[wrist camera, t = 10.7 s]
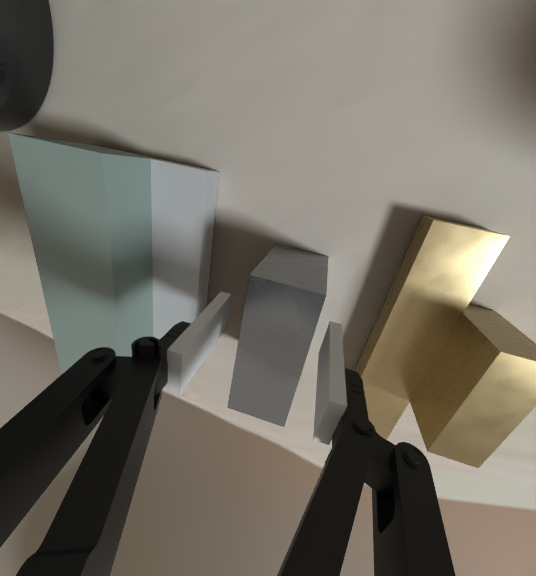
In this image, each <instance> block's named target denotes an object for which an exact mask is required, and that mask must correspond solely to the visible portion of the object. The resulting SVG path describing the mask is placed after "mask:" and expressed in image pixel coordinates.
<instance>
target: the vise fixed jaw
mask: <svg viewBox="0 0 536 576" xmlns="http://www.w3.org/2000/svg"><path fill="white" fill-rule="evenodd" d="M8 136H9V141H10V145H11V150H12V154H13V159H14V163H15V168H16V172H17V177H18V181H19V186H20V190H21V195H22V199H23V204H24V208H25V212H26V217H27V221H28V226H29V230H30V235H31V239H32V244H33V248H34V253H35V257H36V262H37V266H38V271H39V275H40V280H41V284H42V288H43V293H44V297H45V302H46V306H47V311H48V315H49V320H50V324H51V329H52V333H53V338H54V342H55V346H56V351H57V356H58V360H59V364H60V369H61V373H62V374H63V373H64V372H65V371H66V370H68V369H69V368H70V367H71V366H72V365H73V364H74V363H76V362H77V361H78V360H79V359H80V358H81V357H82V356H84V355H85V354H86V353H87V352H89V351H90V350H93V349H96V348H100V347H109V348H111V349H113V350H114V351H115V353H116V356H127V357H130V356H132V349H131V344H132V343H133V342H134V341H135V340H137V339H138V338H141V337H147V336H151V337H156V338H157V339H159V340H160V339H161V338H162V337H163V336H164V335H165V334H166V333H167V332H168V331H169V330H170V329H171V328H172V327H173V326H174V325H175V324H177V323H179V322H182V321H184V322H188V323H192V322H193V321H194V320H195V319H196V318H197V317H198V316H199V315H200V314H201V313H202V311H203V310H204V309H205V308H206V307H207V297H208V286H209V276H210V265H211V254H212V243H213V232H214V222H215V211H216V200H217V189H218V178H219V172H218V171H214V170H209V169H204V168H200V167H195V166H190V165H186V164H181V163H176V162H172V161H167V160H162V159H158V158H153V157H148V156H144V155H139V154H134V153H130V152H125V151H121V150H116V149H111V148H107V147H102V146H97V145H90V144H83V143H76V142H69V141H62V140H55V139H48V138H41V137H34V136H27V135H20V134H13V133H8Z"/></svg>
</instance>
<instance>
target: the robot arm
mask: <svg viewBox="0 0 536 576" xmlns="http://www.w3.org/2000/svg"><path fill="white" fill-rule="evenodd" d="M52 65H53V30H52V21H51V13H50V7H49V2H48V0H0V131H10V130H14V129H17V128H19V127H21V126H23V125H25V124H26V123H27V122H29V121H30V120H31V119H32V118H33V117H34V116H35V114H36V113H37V112H38V110H39V109H40V107H41V105H42V103H43V101H44V99H45V96H46V94H47V91H48V87H49V83H50V79H51V73H52ZM230 301H231V294H229V293H225V292H222V291H221V292H220V293H219V294H218V295H217V296H216V297H215V299H214V300H213V301H212V302H211V303H210V304H209V305H208V306H207V307H206V308H205V309H204V310H203V311H202V313H201V314H200V315H199V316H198V317H197V318H196V319H195V320H194V321H193V322H192V323H188V322H184V321H182V322H179V323H177V324H175V325H174V326H173V327H172V328H171V329H170V330H169V331H168V332H167V333H166V334H165V335H164V336H163V337H162V338H161V339H160V340H159V339H157V338H156V337H151V336H147V337H141V338H138V339H137V340H135V341H134V342H133V343H132V344H131V349H132V356H130V357H127V356H116V353H115V351H114V350H113V349H111V348H109V347H100V348H96V349H93V350H90V351H89V352H87V353H86V354H85V355H84V356H82V357H81V358H80V359H79V360H78V361H77V362H76V363H74V364H73V365H72V366H71V367H70V368H69V369H68V370H66V371H65V372H64V373H63V374H62V375H61V376H60V377H59V378H57V379H56V380H55V381H54V382H53V383H52V384H51V385H49V386H48V387H47V388H46V389H45V390H44V391H43V392H41V393H40V394H39V395H38V396H37V397H36V398H35V399H33V400H32V401H31V402H30V403H29V404H28V405H27V406H25V407H24V408H23V409H22V410H21V411H20V412H19V413H17V414H16V415H15V416H14V417H13V418H12V419H11V420H9V422H7V423H6V424H5V425H4V426H3V427H2V428H0V547H1V546H2V545H3V543H4V542H5V541H6V540H7V538H8V537H9V536H10V534H11V533H12V532H13V531H14V529H15V528H16V527H17V526H18V524H19V523H20V522H21V520H22V519H23V518H24V517H25V515H26V514H27V513H28V512H29V510H30V509H31V508H32V506H33V505H34V504H35V503H36V501H37V500H38V499H39V498H40V496H41V495H42V494H43V492H44V491H45V490H46V489H47V487H48V486H49V485H50V483H51V482H52V481H53V480H54V478H55V477H56V476H57V475H58V473H59V472H60V471H61V469H62V468H63V467H64V466H65V464H66V463H67V462H68V460H69V459H70V458H71V457H72V455H73V454H74V453H75V452H76V450H77V449H78V448H79V447H80V445H81V444H82V443H83V441H84V440H85V439H86V438H87V436H88V435H89V434H90V433H91V431H92V430H93V429H94V427H95V426H96V425H97V424H98V422H99V421H100V420H101V418H102V417H103V416H104V417H103V419H102V421H101V423H100V425H99V427H98V429H97V431H96V433H95V435H94V437H93V439H92V442H91V444H90V446H89V448H88V450H87V452H86V454H85V456H84V458H83V460H82V462H81V464H80V466H79V469H78V470H77V472H76V474H75V477H74V479H73V481H72V483H71V485H70V487H69V489H68V491H67V493H66V495H65V497H64V499H63V501H62V503H61V505H60V508H59V509H58V512H57V514H56V516H55V518H54V520H53V522H52V524H51V526H50V528H49V530H48V532H47V534H46V536H45V538H44V540H43V542H42V544H41V546H40V547H39V549H38V550H37V551H36V553H34V554H33V555H32V556H30V557H29V558H28V559H27V560H26V561H25V563H24V564H23V565H22V566H21V568H20V570H19V571H18V573H17V575H16V576H110V573H111V570H112V566H113V562H114V559H115V556H116V552H117V549H118V545H119V541H120V538H121V534H122V531H123V528H124V524H125V521H126V517H127V514H128V510H129V507H130V504H131V500H132V497H133V493H134V490H135V486H136V483H137V479H138V476H139V472H140V469H141V466H142V462H143V459H144V455H145V452H146V448H147V444H148V441H149V438H150V434H151V431H152V427H153V424H154V420H155V416H156V414H157V410H158V407H159V403H160V399H161V395H162V389H163V388H164V386H165V385H166V384H167V391H169V392H172V393H175V394H178V395H181V394H182V392H183V391H184V389H185V388H186V386H187V385H188V383H189V382H190V380H191V379H192V377H193V376H194V374H195V373H196V372H197V370H198V369H199V367H200V366H201V364H202V363H203V361H204V360H205V358H206V357H207V355H208V354H209V352H210V351H211V349H212V348H213V346H214V345H215V343H216V342H217V340H218V339H219V337H220V336H221V335H222V333H223V332H224V330H225V329H226V327H227V323H228V316H229V308H230ZM313 440H316V441H319V442H322V443H324V444H327V445H329V444H330V442H331V440H332V449H331V451H330V453H329V455H328V457H327V459H326V462H325V465H324V467H323V470H322V472H321V474H320V477H319V479H318V481H317V484H316V486H315V488H314V491H313V493H312V496H311V498H310V500H309V503H308V505H307V507H306V510H305V512H304V514H303V516H302V519H301V521H300V524H299V526H298V528H297V531H296V533H295V535H294V538H293V540H292V542H291V545H290V547H289V549H288V552H287V554H286V556H285V559H284V561H283V563H282V566H281V568H280V570H279V573H278V575H277V576H339V575H340V571H341V567H342V564H343V560H344V556H345V553H346V548H347V545H348V541H349V537H350V534H351V530H352V526H353V522H354V518H355V515H356V511H357V507H358V503H359V500H360V496H361V492H362V488H363V484H364V483H366V484H367V485H368V486H370V487H371V488H372V506H373V507H372V508H373V541H374V576H455V572H454V568H453V564H452V560H451V555H450V551H449V547H448V542H447V538H446V534H445V529H444V525H443V521H442V517H441V513H440V508H439V504H438V499H437V495H436V491H435V486H434V482H433V478H432V474H431V469H430V465H429V463H428V460H427V459H426V457H425V456H424V454H423V453H422V452H421V451H420V450H419V449H418V448H416V447H415V446H413V445H411V444H410V443H406V442H400V443H398V444H397V445H394V444H392V443H391V442H389V441H387V440H386V439H384V438H383V437H381V436H380V435H379V434H378V433H377V432H376V430H375V427H374V425H373V424H372V423H371V421H370V420H369V418H368V411H367V405H366V398H365V392H364V386H363V380H362V378H361V376H360V375H359V373H358V372H356V371H352V370H349V369H346V368H344V354H343V340H342V326H341V324H338V323H334V322H331V321H330V323H329V325H328V328H327V331H326V334H325V337H324V340H323V343H322V345H321V348H320V351H319V359H318V374H317V390H316V405H315V421H314V436H313Z"/></svg>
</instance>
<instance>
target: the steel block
mask: <svg viewBox="0 0 536 576" xmlns="http://www.w3.org/2000/svg"><path fill="white" fill-rule="evenodd" d="M327 271H328V257H327V256H323V255H319V254H315V253H311V252H307V251H303V250H299V249H295V248H291V247H287V246H283V245H278V244H276V245H275V246H274V247H273V248H272V249H271V251H270V252H269V253H268V254H267V255H266V256H265V257H264V259H263V260H262V261H261V262H260V263H259V264H258V266H257V267H256V268H255V269H254V270H253V271H252V272H251V274H250V275H249V281H248V287H247V293H246V299H245V305H244V311H243V317H242V323H241V329H240V335H239V341H238V347H237V353H236V360H235V366H234V372H233V378H232V384H231V390H230V396H229V402H228V408H230V409H233V410H236V411H239V412H242V413H245V414H248V415H251V416H253V417H256V418H259V419H262V420H265V421H268V422H271V423H274V424H277V425H280V426H283V427H284V425H285V422H286V419H287V416H288V413H289V410H290V407H291V404H292V400H293V397H294V394H295V391H296V388H297V385H298V382H299V379H300V375H301V372H302V369H303V366H304V363H305V360H306V357H307V354H308V350H309V347H310V344H311V341H312V338H313V335H314V332H315V329H316V325H317V322H318V319H319V316H320V313H321V310H322V307H323V304H324V300H325V297H326V290H327Z"/></svg>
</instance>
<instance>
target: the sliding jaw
mask: <svg viewBox="0 0 536 576" xmlns="http://www.w3.org/2000/svg"><path fill="white" fill-rule="evenodd" d="M509 237H510V236H507V235H504V234H501V233H498V232H495V231H491V230H488V229H483V228H479V227H474V226H469V225H465V224H460V223H455V222H451V221H446V220H441V219H437V218H432V217H427V216H422V218H421V220H420V222H419V225H418V227H417V229H416V232H415V234H414V236H413V238H412V241H411V243H410V245H409V247H408V250H407V252H406V254H405V257H404V259H403V261H402V263H401V266H400V268H399V270H398V273H397V275H396V277H395V279H394V282H393V284H392V286H391V288H390V291H389V293H388V295H387V298H386V300H385V302H384V304H383V307H382V309H381V311H380V313H379V316H378V318H377V320H376V323H375V325H374V327H373V329H372V332H371V334H370V336H369V338H368V341H367V343H366V345H365V348H364V350H363V352H362V354H361V357H360V359H359V361H358V363H357V366H356V368H355V370H354V371H356V372H358V373H359V375H360V376H361V378H362V380H363V386H364V392H365V398H366V405H367V411H368V418H369V420H370V421H371V423H372V424H373V425H374V427H375V430H376V432H377V433H378V434H379V435H380V436H381V437H383V438H384V439H386V440H387V438H388V436H389V435H390V433H391V431H392V430H393V428H394V426H395V425H396V423H397V421H398V420H399V418H400V416H401V415H402V413H403V412H404V410H405V408H406V407H407V405H408V403H409V402H410V403H411V406H412V409H413V412H414V414H415V417H416V420H417V423H418V426H419V429H420V432H421V435H422V437H423V440H424V443H425V446H426V449H427V451H428V452H431V453H434V454H437V455H440V456H443V457H446V458H449V459H452V460H455V461H458V462H461V463H464V464H467V465H470V466H473V467H476V468H479V467H480V466H481V465H482V464H483V463H484V461H485V460H486V459H487V458H488V457H489V456H490V455H491V454H492V453H493V452H494V451H495V450H496V448H497V447H498V446H499V445H500V444H501V443H502V442H503V441H504V440H505V439H506V438H507V437H508V435H509V434H510V433H511V432H512V431H513V430H514V429H515V428H516V427H517V426H518V425H519V424H520V422H521V421H522V420H523V419H524V418H525V417H526V416H527V415H528V414H529V413H530V412H531V411H532V409H533V408H534V407H535V406H536V344H535V343H534V342H533V341H532V340H531V339H529V338H528V337H527V336H526V335H524V334H523V333H522V332H521V331H519V330H518V329H517V328H516V327H514V326H513V325H512V324H511V323H510V322H508V321H507V320H506V319H505V318H503V317H502V316H501V315H500V314H498V313H497V312H496V311H492V310H488V309H484V308H480V307H476V306H473V305H469V303H470V301H471V300H472V298H473V296H474V295H475V293H476V291H477V290H478V288H479V286H480V285H481V283H482V281H483V280H484V278H485V276H486V275H487V273H488V272H489V270H490V268H491V267H492V265H493V263H494V262H495V260H496V258H497V257H498V255H499V253H500V252H501V250H502V248H503V247H504V245H505V244H506V242H507V240H508V239H509Z"/></svg>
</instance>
